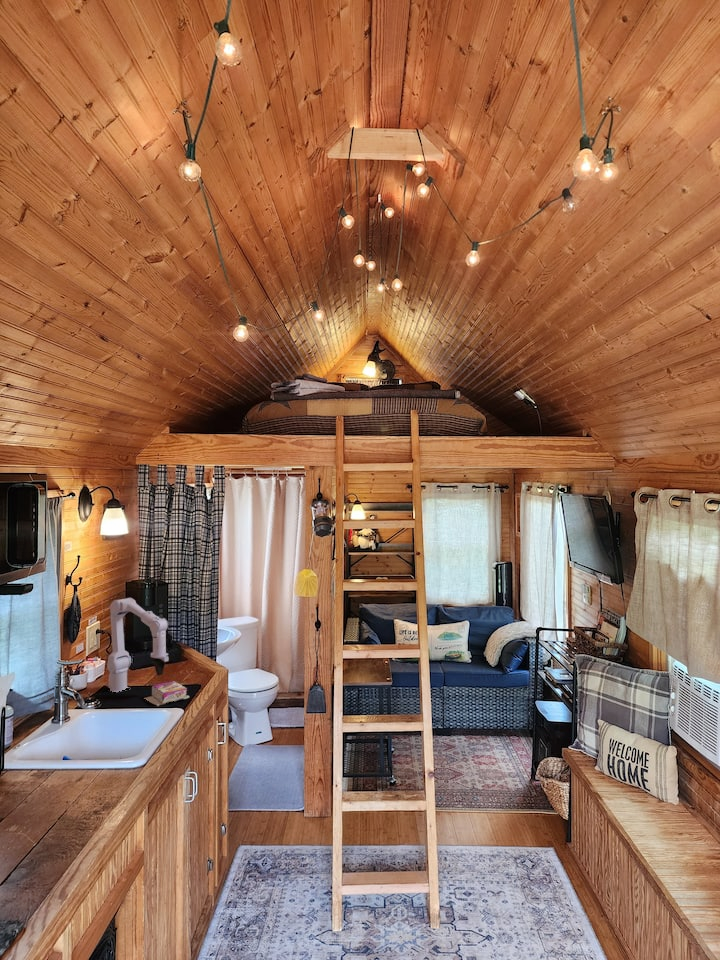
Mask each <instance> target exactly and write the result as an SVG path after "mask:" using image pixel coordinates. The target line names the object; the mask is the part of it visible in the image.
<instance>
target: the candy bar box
mask: <svg viewBox="0 0 720 960" xmlns="http://www.w3.org/2000/svg"><path fill="white" fill-rule="evenodd" d="M187 692H188V688H187V687H186V686H184V685H182V684H181V683H180V682H177V681H176V680H173V681H168V682H163V683H162V682H161V683H158V684H152V685H151V696H153V697H155V698H156V699H157V700H159V701H160V702H161V703H167V704H169V703H168V702H171V703H174V702H178V701H182V700H186V699H188V698H187V696H188V695H187V694H188V693H187ZM173 701H174V702H173Z"/></svg>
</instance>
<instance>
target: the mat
mask: <svg viewBox="0 0 720 960" xmlns="http://www.w3.org/2000/svg"><path fill="white" fill-rule="evenodd" d="M189 698H190V695H187V699H189ZM144 699H146V700H147V702H148V701H149V703H151V704H153V705H155V706H156V707H159V706H162V705H167V704H170V703H169V702H168V703H167V704H166V703H161V702H160V701H159V700H157V699H156V698H155V697H153V696H152V695H151V696H147V697H144V698H143V700H144ZM146 700H145V701H146Z"/></svg>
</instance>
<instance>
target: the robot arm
mask: <svg viewBox="0 0 720 960" xmlns="http://www.w3.org/2000/svg"><path fill="white" fill-rule="evenodd" d="M109 610H110V611H109V612H110V628H111V630H110V631H111V647H112V648H111V649H112V652H111V653H110V654H109V655H108V657H107V664H106V668H107V670H108V671H109V675H108V688H110V691H109V692H111V691H112V692H111V693H113V692H116V693H120V692H123V691H122V690H125V689H126V688H130V687H128V670H129V668H130V666H131V663H132V661H131V658H130V653H129V651H127V650H125V633H124V621H123V620H124V619H123V618H124V617H125V615H126V614H128V613H133V614H134V615H135V616H138V618H140V621H141V622H142V623H144V624H145V625H146V626H148V627H149V629H150V632H151V636H152V652H150V658H153V659H151V662H152V664H153V666H154V669H155V673H156V675H157V676H162V675H163V673H164V669H165V666H166V663H167V662H169V659H170V658H169V653H167V651H166V650H167V646H166V644H167V643H166V642H167V639H166V637H167V636H166V635H167V632H166V631H167V630H168V628H169V622H168V620H167V619H166V618H165V617H163V618H161V617H160V616H158V615H156V614H155V613H153V611H152V610H150V611H149V610H147V611H146V610H145V609H144V608H143V607H141V606H140V605H139V604H138V603H137V602H136V600H135V599H134V598H132V597H126V598H122V599H114V600H113V601H112V602H111V603H110V605H109ZM119 691H120V692H119ZM125 691H126V690H125Z"/></svg>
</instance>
